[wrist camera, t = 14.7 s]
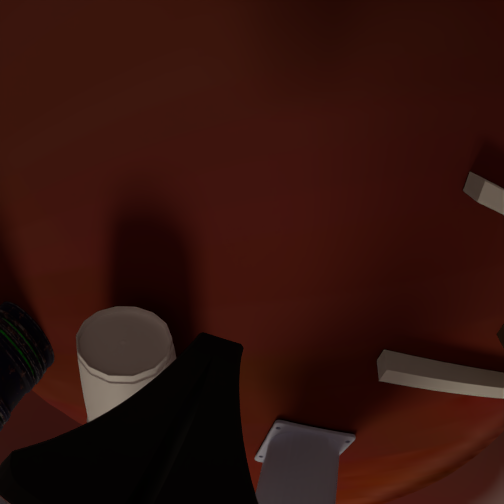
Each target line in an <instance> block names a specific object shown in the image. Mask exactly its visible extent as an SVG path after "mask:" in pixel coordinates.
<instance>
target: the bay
mask: <svg viewBox="0 0 504 504" xmlns="http://www.w3.org/2000/svg"><path fill="white" fill-rule="evenodd" d="M463 191H464V192H465V193H466V194H468V195H469V196H470V197H471V198H473V199H474V200H475V201H476V202H478V203H480V204H482V205H484V206H487V207H489V208H491V209H493V210H495V211H497V212H499V213H501V214H503V215H504V189H503V188H501V187H500V186H498V185H496V184H494V183H492V182H490V181H488V180H486V179H484V178H482V177H480V176H478V175H476V174H474V173H472V172H469V175H468V178H467V181H466V183H465V186H464V189H463ZM377 368H378V377H379V381H382V382H387V383H393V384H398V385H404V386H410V387H416V388H422V389H428V390H435V391H442V392H449V393H457V394H465V395H474V396H483V397H493V398H504V373H503V372H497V371H491V370H485V369H479V368H473V367H468V366H462V365H457V364H451V363H446V362H441V361H436V360H431V359H426V358H421V357H417V356H412V355H407V354H403V353H398V352H394V351H389V350H385V349H384V350H383V352H382V353H381V355H380V356H379V358H378V359H377Z"/></svg>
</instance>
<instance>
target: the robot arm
mask: <svg viewBox="0 0 504 504" xmlns="http://www.w3.org/2000/svg"><path fill="white" fill-rule="evenodd" d="M242 352H243V346H242V345H241V344H239V343H236V342H232V341H229V340H226V339H223V338H219V337H216V336H213V335H210V334H207V333H204V332H202V333H200V334H199V335H198V336H197V337H196V338H195V339H194V341H193V342H192V343H191V344H190V345H189V346H188V347H187V348H186V349H185V350H184V351H183V352H182V353H181V354H180V355H179V356H178V357H177V358H176V359H175V360H174V361H173V362H172V363H171V364H170V365H169V366H168V367H167V368H166V369H164V370H163V371H162V372H161V373H160V374H159V375H158V376H157V377H155V378H154V379H153V380H152V381H150V382H149V383H148V384H147V385H145V386H144V387H143V388H141V389H140V390H139V391H138V392H136V393H135V394H134V395H132V396H131V397H129V398H128V399H126V400H125V401H124V402H122V403H121V404H119V405H117V406H116V407H114V408H113V409H111V410H109V411H108V412H106V413H104V414H103V415H101V416H99V417H97V418H95V419H94V420H92V421H90V422H88V423H86V424H84V425H82V426H80V427H78V428H76V429H74V430H71V431H69V432H67V433H64V434H62V435H59V436H57V437H55V438H52V439H50V440H47V441H44V442H41V443H38V444H35V445H31V446H28V447H25V448H21V449H18V450H14V451H12V452H11V454H10V455H9V456H8V457H7V458H6V459H5V460H4V461H3V462H2V464H1V465H0V495H1V496H2V497H3V498H4V499H6V500H7V501H8V502H9V503H11V504H335V501H336V491H337V479H338V465H339V455H340V454H341V453H342V452H343V451H344V450H345V449H346V448H347V447H348V446H349V445H350V444H351V443H352V442H353V441H354V440H355V435H354V434H349V433H343V432H337V431H332V430H326V429H321V428H316V427H311V426H306V425H301V424H297V423H292V422H288V421H283V420H276V421H275V422H274V424H273V426H272V428H271V430H270V431H269V433H268V435H267V437H266V439H265V440H264V442H263V444H262V446H261V447H260V449H259V451H258V452H257V454H256V456H255V460H256V461H259V462H263V464H262V469H261V473H260V477H259V481H258V485H257V490H256V494H255V491H254V488H253V484H252V481H251V476H250V472H249V468H248V463H247V458H246V453H245V448H244V442H243V435H242V426H241V417H240V400H239V374H240V362H241V356H242ZM3 498H1V497H0V504H9V503H7V502H6V501H5V500H4V499H3Z"/></svg>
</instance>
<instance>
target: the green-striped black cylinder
mask: <svg viewBox="0 0 504 504" xmlns="http://www.w3.org/2000/svg"><path fill="white" fill-rule="evenodd" d="M53 362H54V353H53V350H52V347H51V345H50V343H49V341H48V339H47V337H46V336H45V334H44V333H43V331H42V330H41V329H40V327H39V326H38V325H37V324H36V322H35V321H34V320H33V319H32V318H31V317H30V316H29V315H28V314H27V313H26V312H25V311H24V310H23V309H21V308H20V307H19V306H17V305H15V304H14V303H11V302H4V303H3V304H1V305H0V431H1V430H2V428H3V425H4V424H5V423H6V422H7V421H8V419H9V418H10V416H11V411H12V410H13V409H14V408H15V406H16V405H17V404H18V402H19V401H20V400H21V399H22V397H23V396H24V395H25V393H28V392H30V390H31V389H32V388H33V387H34V385H35V384H37V383H38V382H39V381H40V379H41V378H42V377H43V374H44V373H45V372H46V370H47V367H50V366H51V365H52V363H53ZM2 424H3V425H2Z"/></svg>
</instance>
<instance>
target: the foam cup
mask: <svg viewBox="0 0 504 504" xmlns="http://www.w3.org/2000/svg"><path fill="white" fill-rule="evenodd" d="M76 344H77V355H78V363H79V370H80V377H81V383H82V389H83V395H84V400H85V405H86V410H87V415H88V418H87V423H88V422H90V421H92V420H94V419H95V418H97V417H99V416H101V415H103V414H104V413H106V412H108V411H109V410H111V409H113V408H114V407H116V406H117V405H119V404H121V403H122V402H124V401H125V400H126V399H128V398H129V397H131V396H132V395H134V394H135V393H136V392H138V391H139V390H140V389H141V388H143V387H144V386H145V385H147V384H148V383H149V382H150V381H152V380H153V379H154V378H155V377H157V376H158V375H159V374H160V373H161V372H162V371H163V370H164V369H166V368H167V367H168V366H169V365H170V364H171V363H172V362H173V361H174V360H175V359H176V354H175V349H174V344H173V342H172V336H171V334H170V331H169V329H168V326H167V323H165V322H164V321H163V320H162V319H161V318H159V317H158V316H157V315H156V314H154V313H153V312H150V311H147V310H144V309H141V308H138V307H130V306H115V307H112V308H108V309H105V310H101V311H98V312H96V313H95V314H94V315H92V316H91V317H89V318H88V319H87V320H85V321H84V322H83V324H82V325H81V327H80V329H79V331H78V333H77V335H76Z"/></svg>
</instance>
